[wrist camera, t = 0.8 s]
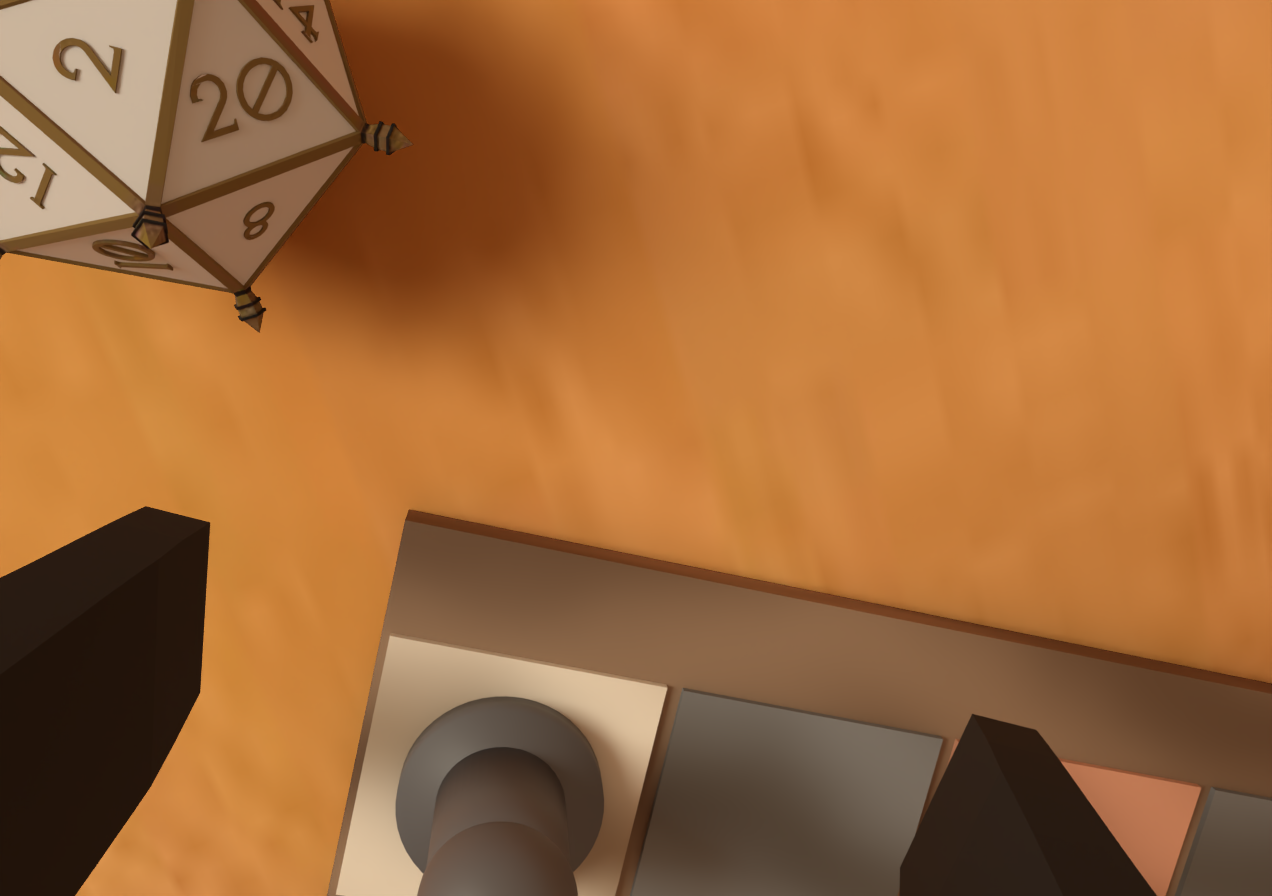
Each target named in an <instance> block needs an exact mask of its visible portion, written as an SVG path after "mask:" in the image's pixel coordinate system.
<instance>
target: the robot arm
mask: <svg viewBox="0 0 1272 896" xmlns="http://www.w3.org/2000/svg"><path fill="white" fill-rule="evenodd" d="M209 533H210V522H206V521H202V520H198V519H194V518H190V517H186V516H182V515H178V514H174V513H170V512H166V511H162V510H158V509H154V508H150V507H146V506H145V507H143V508H141V509H139V510H137V511H135V512H132V513H130V514H128V515H126V516H124V517H122V518H120V519H117V520H115V521H113V522H111V523H109V524H107V525H105V526H103V527H101V528H99V529H97V530H95V531H93V532H91V533H89V534H87V535H85V536H83V537H81V538H79V539H77V540H75V541H73V542H72V543H70V544H68V545H66V546H64V547H62V548H60V549H58V550H56V551H54V552H52V553H50V554H48V555H46V556H44V557H42V558H40V559H38V560H36V561H34V562H32V563H30V564H28V565H26V566H24V567H22V568H20V569H18V570H16V571H14V572H12V573H9V574H7V575H5V576H3V577H1V578H0V896H75V895H76V893H77V892H78V891H79V889H80V888H81V886H82V885H83V884H84V882H85V881H86V879H87V878H88V876H89V875H90V874H91V872H92V871H93V869H94V868H95V867H96V865H97V864H98V862H99V861H100V859H101V858H102V857H103V855H104V854H105V852H106V851H107V849H108V848H109V846H110V845H111V844H112V842H113V841H114V839H115V838H116V836H117V835H118V833H119V832H120V831H121V829H122V828H123V826H124V825H125V823H126V822H127V820H128V819H129V818H130V816H131V815H132V813H133V812H134V810H135V809H136V807H137V806H138V805H139V803H140V802H141V800H142V799H143V797H144V796H145V794H146V793H147V791H148V790H149V788H150V787H151V785H152V783H153V781H154V780H155V778H156V776H157V774H158V772H159V770H160V769H161V767H162V765H163V763H164V761H165V759H166V757H167V756H168V754H169V752H170V750H171V748H172V746H173V745H174V743H175V741H176V739H177V737H178V735H179V733H180V731H181V729H182V727H183V725H184V723H185V721H186V719H187V717H188V715H189V713H190V711H191V709H192V707H193V705H194V703H195V702H196V700H197V698H198V696H199V694H200V685H201V668H202V651H203V635H204V618H205V601H206V584H207V567H208V550H209ZM899 896H1157V895H1156V893H1155V892H1154V891H1153V889H1152V888H1151V887H1150V885H1149V884H1148V883H1147V881H1146V880H1145V879H1144V877H1143V876H1142V874H1141V873H1140V872H1139V870H1138V869H1137V868H1136V866H1135V865H1134V863H1133V862H1132V861H1131V859H1130V858H1129V857H1128V855H1127V854H1126V852H1125V851H1124V850H1123V848H1122V847H1121V846H1120V844H1119V843H1118V841H1117V840H1116V838H1115V837H1114V836H1113V834H1112V833H1111V831H1110V830H1109V829H1108V827H1107V826H1106V824H1105V823H1104V822H1103V820H1102V819H1101V817H1100V816H1099V815H1098V813H1097V812H1096V810H1095V809H1094V808H1093V806H1092V805H1091V803H1090V802H1089V801H1088V799H1087V798H1086V796H1085V795H1084V794H1083V792H1082V791H1081V789H1080V788H1079V787H1078V785H1077V784H1076V782H1075V781H1074V779H1073V778H1072V777H1071V775H1070V774H1069V772H1068V771H1067V770H1066V768H1065V767H1064V766H1063V764H1062V763H1061V761H1060V760H1059V759H1058V757H1057V756H1056V755H1055V753H1054V752H1053V751H1052V749H1051V748H1050V746H1049V745H1048V744H1047V743H1046V741H1045V740H1044V739H1043V737H1042V736H1041V735H1040V734H1039V732H1038V731H1037V730H1035V729H1031V728H1027V727H1023V726H1019V725H1015V724H1011V723H1007V722H1003V721H999V720H995V719H991V718H987V717H983V716H979V715H975V714H972V715H971V717H970V719H969V721H968V724H967V726H966V728H965V730H964V732H963V734H962V736H961V739H960V741H959V743H958V745H957V747H956V749H955V751H954V753H953V756H952V758H951V760H950V762H949V764H948V766H947V768H946V770H945V773H944V775H943V777H942V779H941V781H940V783H939V785H938V788H937V790H936V792H935V794H934V796H933V798H932V800H931V802H930V805H929V807H928V809H927V811H926V813H925V815H924V817H923V819H922V822H921V824H920V826H919V828H918V830H917V832H916V834H915V837H914V839H913V841H912V843H911V845H910V847H909V849H908V851H907V854H906V856H905V858H904V860H903V862H902V864H901V866H900V895H899Z"/></svg>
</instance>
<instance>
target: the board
mask: <svg viewBox="0 0 1272 896" xmlns="http://www.w3.org/2000/svg"><path fill="white" fill-rule="evenodd" d="M495 696H510V697H519V698H525V699H529V700H533V701H536V702H539V703H542V704H544V705H547V706H549V707H551V708H553V709H554V710H556V711H558V712H560V713H561V714H562V715H564V716H565V717H567V718H568V719H569V720H570V721H571V722H573V723H574V724H575V725H576V726H577V727H578V728H579V729H580V731H581V732H582V733H583V734H584V736H585V737H586V738H587V740H588V742H589V743H590V745H591V747H592V748H593V751H594V753H595V755H596V758H597V760H598V764H599V768H600V772H601V779H602V786H603V794H604V814H603V820H602V825H601V828H600V831H599V834H598V837H597V839H596V841H595V844H594V846H593V848H592V849H591V851H590V853H589V854H588V856H587V857H586V859H585V860H584V861H583V862H582V863H581V865H580V866H579V867H578V868H577V869H576V870H575V871H574V872H573V874H574V877H575V881H576V885H577V890H578V896H899V895H900V866H901V864H902V862H903V860H904V858H905V856H906V854H907V851H908V849H909V847H910V845H911V843H912V841H913V839H914V837H915V834H916V832H917V830H918V828H919V826H920V824H921V822H922V819H923V817H924V815H925V813H926V811H927V809H928V807H929V805H930V802H931V800H932V798H933V796H934V794H935V792H936V790H937V788H938V785H939V783H940V781H941V779H942V777H943V775H944V773H945V770H946V768H947V766H948V764H949V762H950V760H951V758H952V756H953V753H954V751H955V749H956V747H957V745H958V743H959V741H960V739H961V736H962V734H963V732H964V730H965V728H966V726H967V724H968V721H969V719H970V717H971V715H972V714H975V715H979V716H983V717H987V718H991V719H995V720H999V721H1003V722H1007V723H1011V724H1015V725H1019V726H1023V727H1027V728H1031V729H1035V730H1037V731H1038V732H1039V734H1040V735H1041V736H1042V737H1043V739H1044V740H1045V741H1046V743H1047V744H1048V745H1049V746H1050V748H1051V749H1052V751H1053V752H1054V753H1055V755H1056V756H1057V757H1058V759H1059V760H1060V761H1061V763H1062V764H1063V766H1064V767H1065V768H1066V770H1067V771H1068V772H1069V774H1070V775H1071V777H1072V778H1073V779H1074V781H1075V782H1076V784H1077V785H1078V787H1079V788H1080V789H1081V791H1082V792H1083V794H1084V795H1085V796H1086V798H1087V799H1088V801H1089V802H1090V803H1091V805H1092V806H1093V808H1094V809H1095V810H1096V812H1097V813H1098V815H1099V816H1100V817H1101V819H1102V820H1103V822H1104V823H1105V824H1106V826H1107V827H1108V829H1109V830H1110V831H1111V833H1112V834H1113V836H1114V837H1115V838H1116V840H1117V841H1118V843H1119V844H1120V846H1121V847H1122V848H1123V850H1124V851H1125V852H1126V854H1127V855H1128V857H1129V858H1130V859H1131V861H1132V862H1133V863H1134V865H1135V866H1136V868H1137V869H1138V870H1139V872H1140V873H1141V874H1142V876H1143V877H1144V879H1145V880H1146V881H1147V883H1148V884H1149V885H1150V887H1151V888H1152V889H1153V891H1154V892H1155V893H1156V895H1157V896H1272V684H1270V683H1265V682H1260V681H1255V680H1250V679H1245V678H1240V677H1235V676H1230V675H1225V674H1220V673H1215V672H1211V671H1206V670H1201V669H1196V668H1191V667H1186V666H1181V665H1176V664H1171V663H1166V662H1161V661H1156V660H1151V659H1146V658H1141V657H1136V656H1131V655H1126V654H1121V653H1116V652H1111V651H1107V650H1102V649H1097V648H1092V647H1087V646H1082V645H1077V644H1072V643H1067V642H1062V641H1057V640H1052V639H1047V638H1042V637H1037V636H1032V635H1027V634H1022V633H1017V632H1012V631H1007V630H1003V629H998V628H993V627H988V626H983V625H978V624H973V623H968V622H963V621H958V620H953V619H948V618H943V617H938V616H933V615H928V614H923V613H918V612H913V611H908V610H903V609H899V608H894V607H889V606H884V605H879V604H874V603H869V602H864V601H859V600H854V599H849V598H844V597H839V596H834V595H829V594H824V593H819V592H814V591H809V590H804V589H799V588H795V587H790V586H785V585H780V584H775V583H770V582H765V581H760V580H755V579H750V578H745V577H740V576H735V575H730V574H725V573H720V572H715V571H710V570H705V569H700V568H695V567H691V566H686V565H681V564H676V563H671V562H666V561H661V560H656V559H651V558H646V557H641V556H636V555H631V554H626V553H621V552H616V551H611V550H606V549H601V548H596V547H591V546H586V545H582V544H577V543H572V542H567V541H562V540H557V539H552V538H547V537H542V536H537V535H532V534H527V533H522V532H517V531H512V530H507V529H502V528H497V527H492V526H487V525H482V524H478V523H473V522H468V521H463V520H458V519H453V518H448V517H443V516H438V515H433V514H428V513H423V512H418V511H413V510H409V511H408V514H407V517H406V519H405V524H404V528H403V533H402V538H401V543H400V548H399V552H398V557H397V562H396V567H395V572H394V577H393V581H392V586H391V591H390V596H389V601H388V605H387V610H386V615H385V620H384V625H383V629H382V634H381V639H380V644H379V649H378V654H377V658H376V663H375V668H374V673H373V678H372V682H371V687H370V692H369V697H368V702H367V706H366V711H365V716H364V721H363V726H362V731H361V735H360V740H359V745H358V750H357V755H356V759H355V764H354V769H353V774H352V779H351V783H350V788H349V793H348V798H347V803H346V808H345V812H344V817H343V822H342V827H341V832H340V836H339V841H338V846H337V851H336V856H335V860H334V865H333V870H332V875H331V880H330V884H329V889H328V894H327V896H417V894H418V889H419V886H420V882H421V879H422V876H423V873H422V872H421V871H420V870H419V868H418V867H417V866H416V865H415V864H414V863H413V861H412V860H411V858H410V857H409V855H408V854H407V852H406V850H405V848H404V846H403V843H402V841H401V839H400V835H399V832H398V829H397V822H396V816H395V803H396V795H397V789H398V784H399V779H400V775H401V771H402V768H403V764H404V761H405V759H406V757H407V755H408V752H409V750H410V749H411V747H412V745H413V744H414V742H415V741H416V739H417V738H418V737H419V736H420V734H421V733H422V732H423V731H424V729H426V728H427V727H428V726H429V725H430V724H431V723H432V722H433V721H434V720H436V719H437V718H438V717H440V716H441V715H443V714H444V713H445V712H447V711H449V710H451V709H453V708H455V707H457V706H459V705H462V704H464V703H467V702H469V701H473V700H477V699H481V698H488V697H495Z"/></svg>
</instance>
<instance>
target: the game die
mask: <svg viewBox="0 0 1272 896" xmlns="http://www.w3.org/2000/svg"><path fill="white" fill-rule="evenodd" d="M363 143H367V144H369V145H370V146H372V147H374V151H379V150H383V151H386V154H387V155H390V154H392V153H393V152H395V151H396V150H399V149H402V148H405V147H408V146H411V145H413V144H412V143H411V142H410V141H409V140H408V139H407V138H406V137H405V136H404V135H403V134H402V133H401V132H400V131H399V130H398V129H397V127H396V125H395V124H394V123H392V125H391V126H389V125H384V123H383V122H381V121H379V124H374V125H369V124H367V122H366V119H365V116H364V112H363V109H362V106H361V103H360V99H359V96H358V93H357V89H356V86H355V83H354V80H353V76H352V73H351V70H350V66H349V63H348V60H347V57H346V53H345V50H344V47H343V43H342V40H341V37H340V34H339V30H338V27H337V24H336V21H335V17H334V14H333V11H332V7H331V4H330V1H329V0H0V259H1V257H2V255H3V254H5V253H6V252H7V253H12V254H18V255H24V256H29V257H35V258H40V259H46V260H51V261H57V262H63V263H68V264H74V265H79V266H85V267H90V268H96V269H101V270H107V271H113V272H118V273H124V274H129V275H135V276H140V277H146V278H152V279H157V280H163V281H168V282H174V283H179V284H185V285H191V286H196V287H202V288H207V289H213V290H218V291H224V292H229V293H234V295H235V298H236V304H235V305H234V306H235V308H236V309H237V310H238V311H239V313H240V316H238V317H239V319H240V320H241V321H245V322H246V323H248V324H249V325H250V326H251V327H253V328H254V329H255V330H256V331H258V332H259V333H260V328H261V323H262V318H263V313H264V312H265V311H266V308H262V306H261V304H260V302H259V301H260V300H261V298H260V297H256V296H255V294H254V293H253V292H252V291H251V285H252V284H253V282H254V281H255V280H256V279H257V277H258V276H259V275H260V273H261V272H262V271H263V270H264V268H265V267H266V266H267V265H268V263H269V262H270V261H271V260H272V258H273V257H274V256H275V254H276V253H277V252H278V251H279V249H280V248H281V247H282V246H283V244H284V243H285V242H286V241H287V239H288V238H289V237H290V235H291V234H292V233H293V232H294V230H295V229H296V228H297V227H298V225H299V224H300V223H301V222H302V220H303V219H304V218H305V217H306V215H307V214H308V213H309V211H310V210H311V209H312V208H313V206H314V205H315V204H316V203H317V201H318V200H319V199H320V198H321V196H322V195H323V194H324V192H325V191H326V190H327V189H328V187H329V186H330V185H331V184H332V182H333V181H334V180H335V179H336V177H337V176H338V175H339V173H340V172H341V171H342V170H343V168H344V167H345V166H346V165H347V163H348V162H349V161H350V160H351V158H352V157H353V156H354V154H355V153H356V152H357V151H358V149H359V148H360V147H361V146H362V144H363Z"/></svg>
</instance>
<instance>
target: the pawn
mask: <svg viewBox="0 0 1272 896" xmlns="http://www.w3.org/2000/svg"><path fill="white" fill-rule="evenodd" d="M603 814H604V794H603V786H602V779H601V772H600V768H599V764H598V760H597V758H596V755H595V753H594V751H593V748H592V747H591V745H590V743H589V742H588V740H587V738H586V737H585V736H584V734H583V733H582V732H581V731H580V729H579V728H578V727H577V726H576V725H575V724H574V723H573V722H571V721H570V720H569V719H568V718H567V717H565V716H564V715H562V714H561V713H560V712H558V711H556V710H554V709H553V708H551V707H549V706H547V705H544V704H542V703H539V702H536V701H533V700H529V699H525V698H519V697H510V696H495V697H488V698H481V699H477V700H473V701H469V702H467V703H464V704H462V705H459V706H457V707H455V708H453V709H451V710H449V711H447V712H445V713H444V714H443V715H441V716H440V717H438V718H437V719H436V720H434V721H433V722H432V723H431V724H430V725H429V726H428V727H427V728H426V729H424V731H423V732H422V733H421V734H420V736H419V737H418V738H417V739H416V741H415V742H414V744H413V745H412V747H411V749H410V750H409V752H408V755H407V757H406V759H405V761H404V764H403V768H402V771H401V775H400V779H399V784H398V789H397V795H396V803H395V816H396V822H397V829H398V832H399V835H400V839H401V841H402V843H403V846H404V848H405V850H406V852H407V854H408V855H409V857H410V858H411V860H412V861H413V863H414V864H415V865H416V866H417V867H418V868H419V870H420V871H421V872H422V873H423V876H422V879H421V882H420V886H419V889H418V894H417V896H578V890H577V885H576V881H575V877H574V874H573V872H574V871H575V870H576V869H577V868H578V867H579V866H580V865H581V863H582V862H583V861H584V860H585V859H586V857H587V856H588V854H589V853H590V851H591V849H592V848H593V846H594V844H595V841H596V839H597V837H598V834H599V831H600V828H601V825H602V820H603Z"/></svg>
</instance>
